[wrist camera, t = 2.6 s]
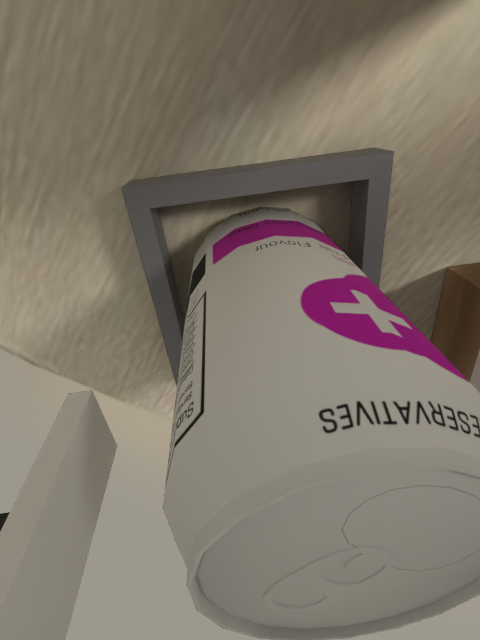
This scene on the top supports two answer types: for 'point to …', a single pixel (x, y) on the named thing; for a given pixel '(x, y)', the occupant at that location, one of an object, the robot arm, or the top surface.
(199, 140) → the top surface
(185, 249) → the top surface
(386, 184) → the base frame
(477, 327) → the riser block
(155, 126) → the top surface
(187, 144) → the top surface
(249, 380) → the supplement can
